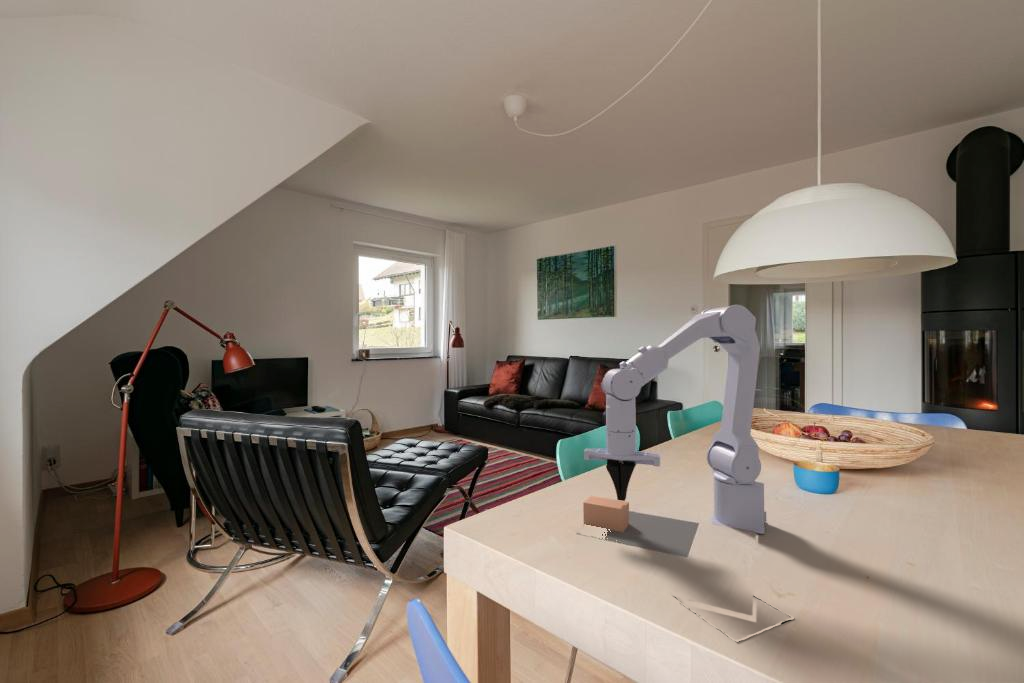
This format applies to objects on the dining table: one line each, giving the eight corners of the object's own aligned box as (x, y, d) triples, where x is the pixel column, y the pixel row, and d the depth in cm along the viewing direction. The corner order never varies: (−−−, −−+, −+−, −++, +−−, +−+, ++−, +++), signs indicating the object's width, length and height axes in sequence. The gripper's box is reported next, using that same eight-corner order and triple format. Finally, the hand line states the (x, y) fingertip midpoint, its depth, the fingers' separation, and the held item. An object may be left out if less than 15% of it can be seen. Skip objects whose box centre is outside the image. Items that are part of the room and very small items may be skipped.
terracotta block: (628, 502, 90) (590, 495, 94) (622, 509, 87) (583, 502, 90) (629, 523, 90) (591, 516, 94) (623, 532, 87) (583, 524, 90)
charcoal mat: (698, 526, 90) (698, 523, 90) (686, 560, 76) (686, 557, 76) (602, 509, 100) (602, 506, 100) (575, 536, 86) (575, 533, 86)
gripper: (661, 428, 90) (662, 496, 90) (589, 424, 95) (590, 488, 95) (658, 435, 83) (659, 509, 83) (581, 430, 89) (581, 499, 89)
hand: (621, 498), depth 89 cm, fingers closed
